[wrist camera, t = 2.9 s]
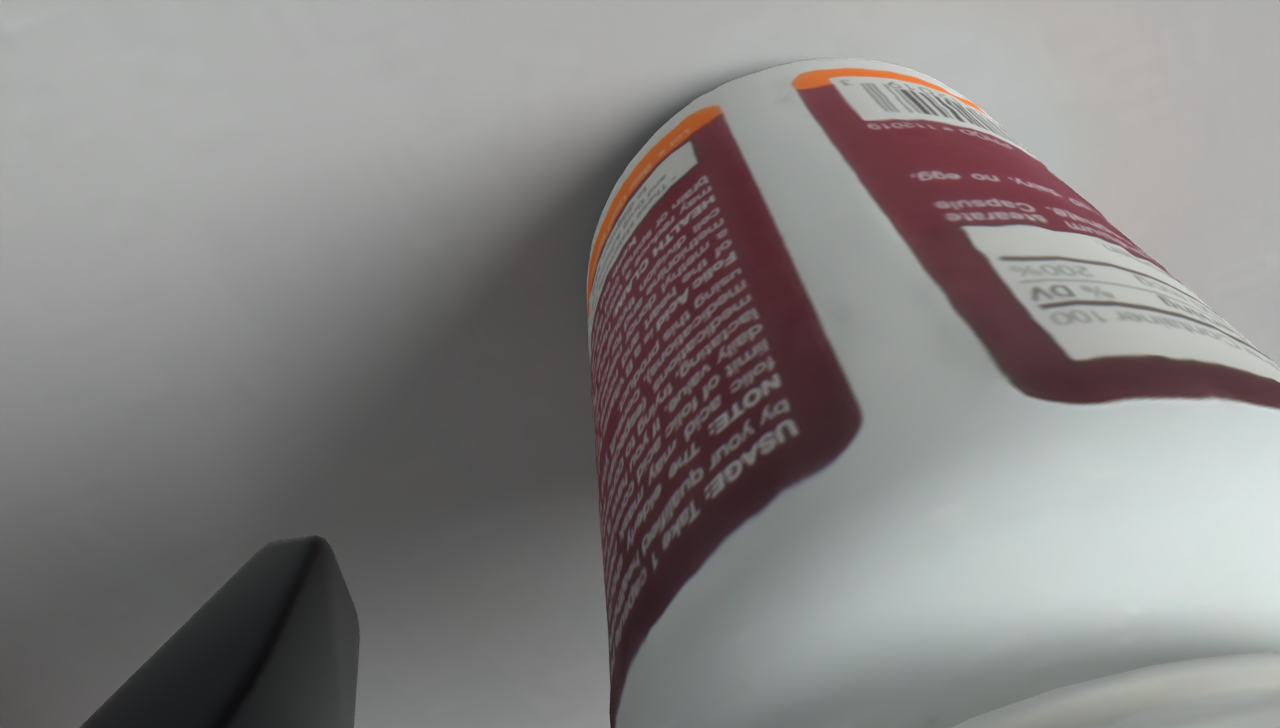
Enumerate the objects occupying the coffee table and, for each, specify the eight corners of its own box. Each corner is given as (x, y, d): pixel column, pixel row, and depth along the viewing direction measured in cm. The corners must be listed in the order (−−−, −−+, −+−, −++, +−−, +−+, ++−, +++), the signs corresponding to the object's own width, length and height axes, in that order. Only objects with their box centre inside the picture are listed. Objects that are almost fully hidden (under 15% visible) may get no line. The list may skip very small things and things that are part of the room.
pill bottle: (683, 501, 12) (854, 1544, 5) (505, 165, 10) (380, 1280, 3) (1063, 361, 12) (1858, 1351, 4) (975, -39, 9) (2422, 765, 2)
